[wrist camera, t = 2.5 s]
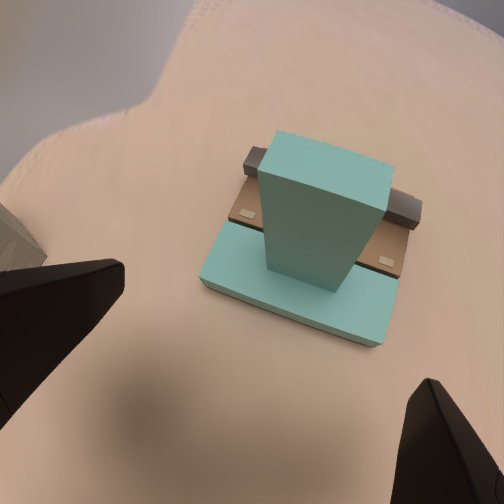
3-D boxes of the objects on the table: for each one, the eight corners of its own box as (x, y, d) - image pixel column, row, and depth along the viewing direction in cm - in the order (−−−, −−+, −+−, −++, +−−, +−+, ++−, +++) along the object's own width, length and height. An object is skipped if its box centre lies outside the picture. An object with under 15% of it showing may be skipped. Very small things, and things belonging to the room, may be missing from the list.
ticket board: (392, 288, 20) (411, 271, 17) (228, 230, 23) (220, 205, 19) (407, 213, 22) (423, 189, 19) (261, 164, 25) (258, 136, 22)
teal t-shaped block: (372, 347, 18) (475, 305, 8) (205, 285, 21) (135, 188, 10) (389, 289, 20) (481, 200, 9) (229, 233, 22) (191, 109, 12)
